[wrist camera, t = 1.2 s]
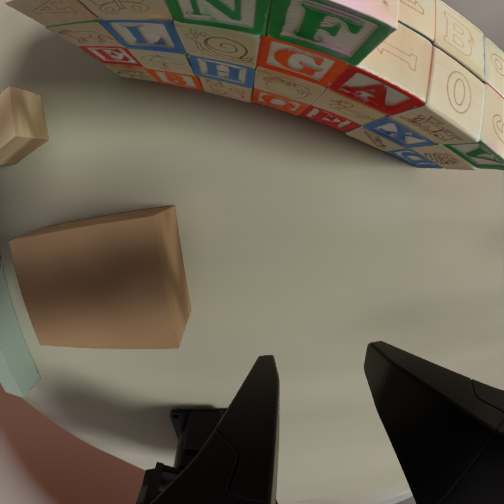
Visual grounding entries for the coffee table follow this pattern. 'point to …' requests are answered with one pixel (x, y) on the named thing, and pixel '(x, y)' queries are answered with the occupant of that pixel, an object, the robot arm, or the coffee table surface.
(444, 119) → the stack of blocks
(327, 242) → the coffee table surface
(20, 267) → the walnut brick
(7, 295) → the board
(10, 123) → the oak cube
